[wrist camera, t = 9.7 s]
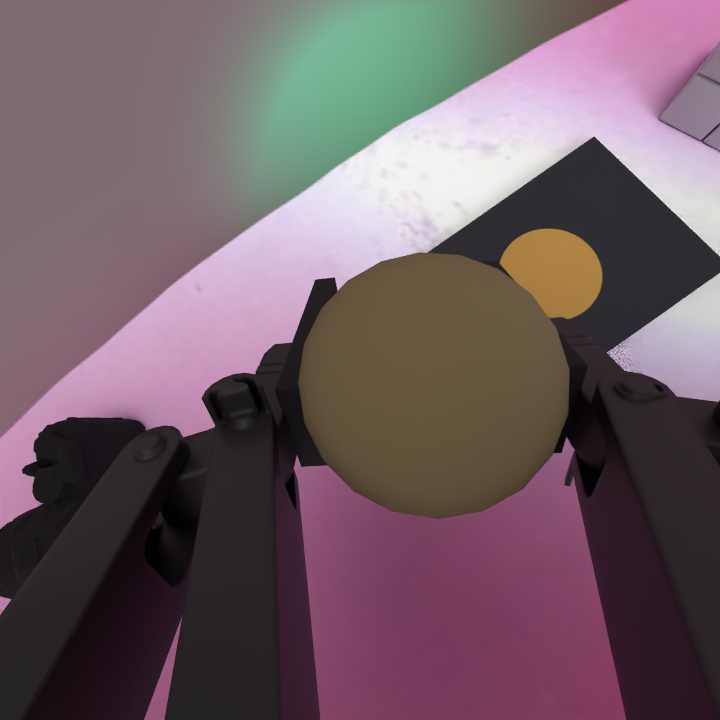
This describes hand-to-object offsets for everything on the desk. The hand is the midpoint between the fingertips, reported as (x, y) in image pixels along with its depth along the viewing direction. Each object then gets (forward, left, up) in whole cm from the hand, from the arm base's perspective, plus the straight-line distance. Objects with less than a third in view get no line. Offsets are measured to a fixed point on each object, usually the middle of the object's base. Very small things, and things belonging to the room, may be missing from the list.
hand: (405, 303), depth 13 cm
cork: (-3, +2, -4) cm, 5 cm away
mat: (-1, -14, -16) cm, 21 cm away
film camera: (+4, +27, -16) cm, 31 cm away
